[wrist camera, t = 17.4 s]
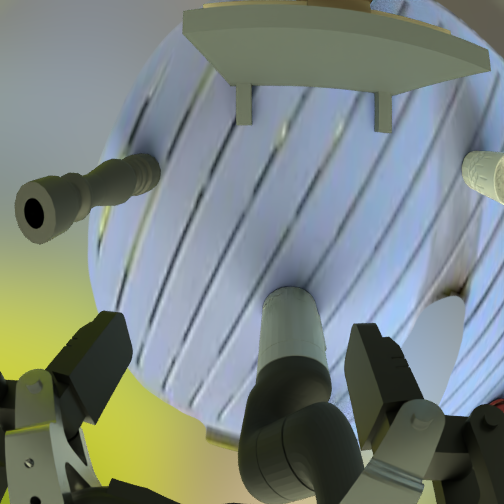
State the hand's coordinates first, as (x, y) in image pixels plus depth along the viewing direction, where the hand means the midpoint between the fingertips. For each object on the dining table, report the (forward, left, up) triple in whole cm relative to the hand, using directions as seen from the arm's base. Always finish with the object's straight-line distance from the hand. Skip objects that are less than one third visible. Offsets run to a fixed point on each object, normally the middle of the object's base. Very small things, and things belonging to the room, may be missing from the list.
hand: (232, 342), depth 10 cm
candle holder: (+15, +12, -36) cm, 41 cm away
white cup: (-22, -29, -36) cm, 51 cm away
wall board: (+5, -15, -36) cm, 39 cm away
